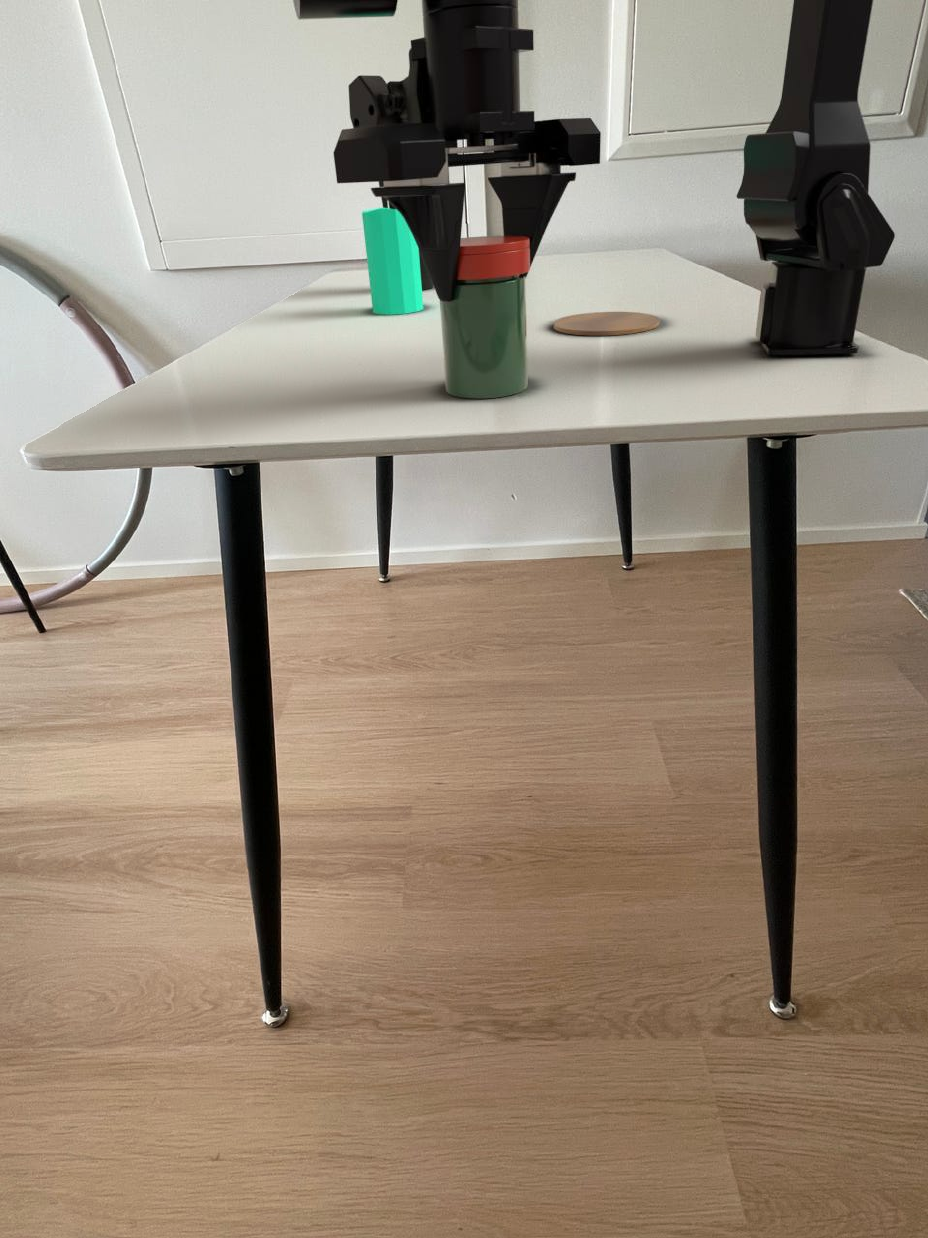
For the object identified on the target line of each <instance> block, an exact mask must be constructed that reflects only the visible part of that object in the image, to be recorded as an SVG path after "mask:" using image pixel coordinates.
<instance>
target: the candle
mask: <svg viewBox="0 0 928 1238" xmlns="http://www.w3.org/2000/svg"><path fill="white" fill-rule="evenodd" d="M387 204H388V208H383V206H382V207H377V208H372V209H367V210H362V211H361V216H362V217H361V218H362V224H363V225H362V226H363V227H362V228H363V235H364V236H363V237H364V243H365V245H364V246H365V253H366V261H367V270H368V279H369V289H370V297H371V298H370V299H371V308H372V313H373V314H376V315H389V316H390V315H403V314H411V313H417V312H419V311H422V310H424V298H423V297H424V296H423V290H422V285H421V273H420V260H419V249H418V246H417V244H416V241H415V239H414V237H413V235H412V233H411V231H410V229H409V227H408V225H407V223H406V221H405V219H404V218H403V216H402V215H401V214H400V212H399V211H398V210H397V209H389V201H388V200H387Z"/></svg>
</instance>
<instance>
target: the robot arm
mask: <svg viewBox="0 0 928 1238" xmlns="http://www.w3.org/2000/svg"><path fill="white" fill-rule="evenodd" d="M292 2H293V6H294V12H295V14H296V18H297V20H299V21H300V20H327V19H331V20H333V19H358V18H359V19H360V18H363V19H364V18H386V17H387V18H391V17H395V15H396V11H397V9H398V8H397V7H398V2H399V0H292ZM792 3H793V4H792V11H791V20H790V26H789V27H790V28H789V34H788V35H789V36H788V44H787V52H786V60H785V66H784V75H783V82H782V90H781V97H780V101H779V105H778V108H777V110H776V112H775V114H774V115H773V117H772V119H771V122H769V123H770V124H769V125H768V127H767V130H766V131H765V133H764V132H763V133H752V134H750V133H749V134H747V136H746V138H745V141H744V146H743V174H742V180H741V184H740V187H739V188H738V191H737V193H736V199H738V200H743V216H744V222H745V224H746V225H748V226H749V228H750V229H751V231H752V232H753V233H754V234H755V239H756V245H757V249H758V250H757V251H758V255H759V260H760V261H763V262H771V265H770V266H771V267H770V273H769V274H770V275H769V282H763V284H762V285H761V286H760V293H759V294H760V295H759V304H758V312H757V321H756V328H755V338H756V339H757V340H758V342H759V343H760V345H761V346H762V348H763V350H765V352H766V354H767V355H769V356H805V355H806V356H807V355H849V354H851V355H852V354H858V353H859V348H860V346H859V345H858V344H857V343H856V342H855V341H854V338H855V333H856V327H857V322H858V316H859V310H860V304H861V299H862V293H863V288H864V283H865V277H866V270H867V268H872V267H880V266H882V265H883V264H884V262H885V259H886V258H887V256H888V253H889V251H890V249H891V247H892V245H893V242H894V241H895V237H896V235H895V234H896V233H895V231H894V230H893V229H892V227H891V226H890V224H889V223H888V221H887V220H886V218H885V216H884V215H883V214H882V212H881V211H880V209H879V207H878V206H877V204H876V203H875V201H874V199H872V197H871V195H870V194H869V193H870V192H869V191H870V190H869V189H870V171H871V152H872V151H871V148H872V147H871V146H872V144H871V141H870V138H869V134H868V131H867V128H866V124H865V120H864V118H863V113H862V111H861V107H860V104H859V88H860V83H861V76H862V72H863V66H864V59H865V52H866V48H867V47H866V46H867V41H868V36H869V35H868V34H869V29H870V22H871V17H872V10H873V5H874V0H793V2H792ZM421 13H422V26H423V37H420V38H414V39H411V40H410V48H409V50H408V65H409V68H408V75H407V76H406V77H404V79H402V80H399V81H398V80H397V81H396V80H395V81H394V80H392V81H391V80H389V81H388V82H386V80H385V79H384V78H383V76H382V75H365V74H364V75H358V76H356V78H355V79H354V80H352V81H351V82H350V83H349V84H348V104H349V118H350V121H351V123H352V124H351V125H352V127H351V128H343V129H341V131H340V133H339V136H338V139H337V142H336V144H335V147H334V150H333V161H334V169H335V179H336V184H354V183H377V182H378V183H379V182H381V181H384V187H379V186H375V187H370V190H371V193H372V194H373V196H374V197H375V198H381V197H384V198H386V199H387V200H388V201H389V202H390V203H391V204H392V205H393V206H394V207H395V208H396V209H397V210H398V211H399V212H400V214H401V215H402V216H403V218H404V219H405V221H406V223H407V225H408V227H409V229H410V231H411V233H412V235H413V237H414V239H415V241H416V244H417V246H418V249H419V251H420V253H421V256H422V258H423V261H424V263H425V266H426V268H427V271H428V273H429V276H430V278H431V281H432V283H433V288H434V290H435V293H436V296H437V298H438V299H439V302H440V301H444V302H451V301H453V300H454V296H455V290H456V284H457V278H458V267H459V254H460V242H461V238H462V231H463V229H462V227H463V217H464V205H465V195H466V193H465V192H466V182H450V168H453V167H454V168H455V167H467V166H469V167H470V166H481V165H497V164H500V176H491V177H490V176H489V177H487V180H488V182H489V185H490V186H491V188H492V189H493V192H494V193H495V195H496V196H497V198H498V200H499V201H500V205H501V215H502V233H503V236H525V237H529V238H530V246H529V247H530V268H532V267H531V266H532V264H533V262H534V261H535V260H534V259H535V257H536V255H537V252H538V250H539V248H540V244H541V242H542V240H543V239H544V238H543V237H544V236H545V233H546V230H547V228H548V226H549V224H550V222H551V219H552V217H553V215H554V213H555V211H556V209H557V207H558V206H559V203H560V201H561V199H562V198H563V196H564V193H565V191H566V189H567V187H568V185H569V183H570V182H575V181H576V178H577V172H575V171H574V172H573V171H572V172H562V167H564V166H565V167H566V166H569V167H576V166H577V167H578V166H588V165H589V166H591V165H600V164H601V142H602V141H601V140H602V139H601V138H602V136H601V135H602V133H601V131H600V129H599V128H598V126H597V125H596V123H595V122H594V121H593V119H592V118H591V117H580V118H579V117H575V118H574V117H572V118H570V117H569V118H554V119H553V118H552V119H543V120H535V110H524V111H523V110H522V111H521V83H520V82H521V81H520V79H521V78H520V53H521V54H522V53H525V52H530V51H534V50H535V49H534V47H535V46H534V29H530V28H529V29H527V28H519V27H520V26H519V0H421ZM486 140H493V144H492V145H486ZM458 141H466V146H460V147H458ZM529 272H530V270H529V271H528V272H526V273H523V275H525V277H526V278H527V277H528V274H529Z"/></svg>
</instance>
